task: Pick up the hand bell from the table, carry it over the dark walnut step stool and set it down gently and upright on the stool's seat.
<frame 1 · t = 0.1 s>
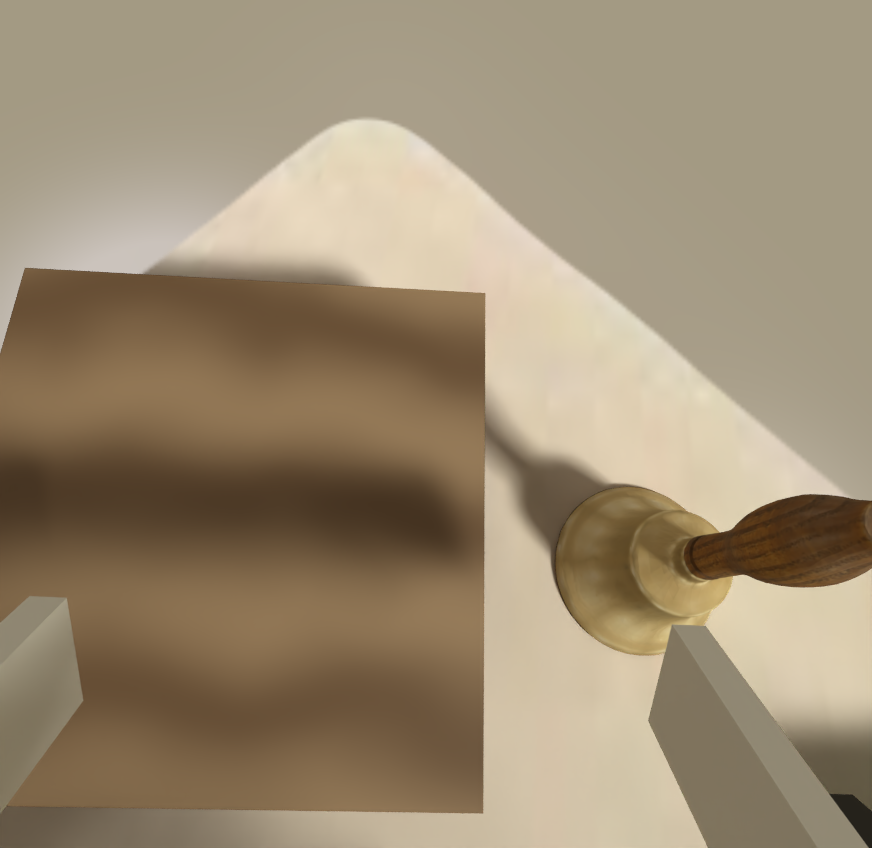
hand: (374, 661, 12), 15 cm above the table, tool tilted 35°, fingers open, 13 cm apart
walnut stool: (281, 535, 28), on the table
hand bell: (633, 568, 29), on the table
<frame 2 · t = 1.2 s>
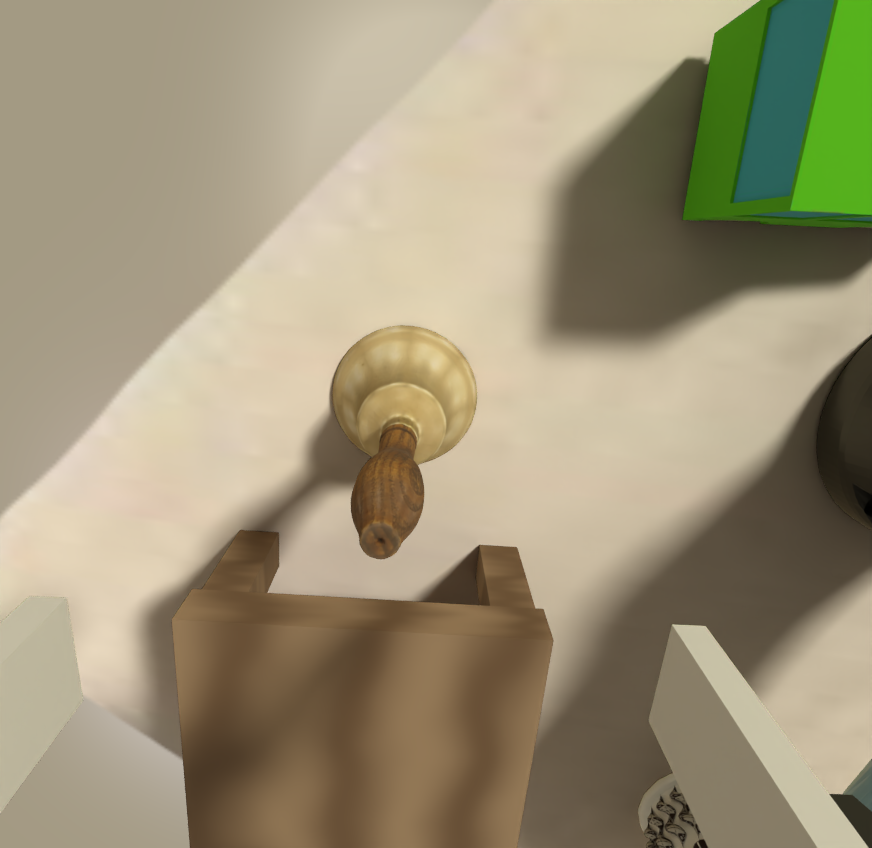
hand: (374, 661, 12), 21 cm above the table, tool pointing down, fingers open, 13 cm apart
walnut stool: (373, 652, 38), on the table
decorative candle: (690, 805, 43), on the table
toy car: (812, 143, 28), on the table
hand bell: (405, 396, 32), on the table
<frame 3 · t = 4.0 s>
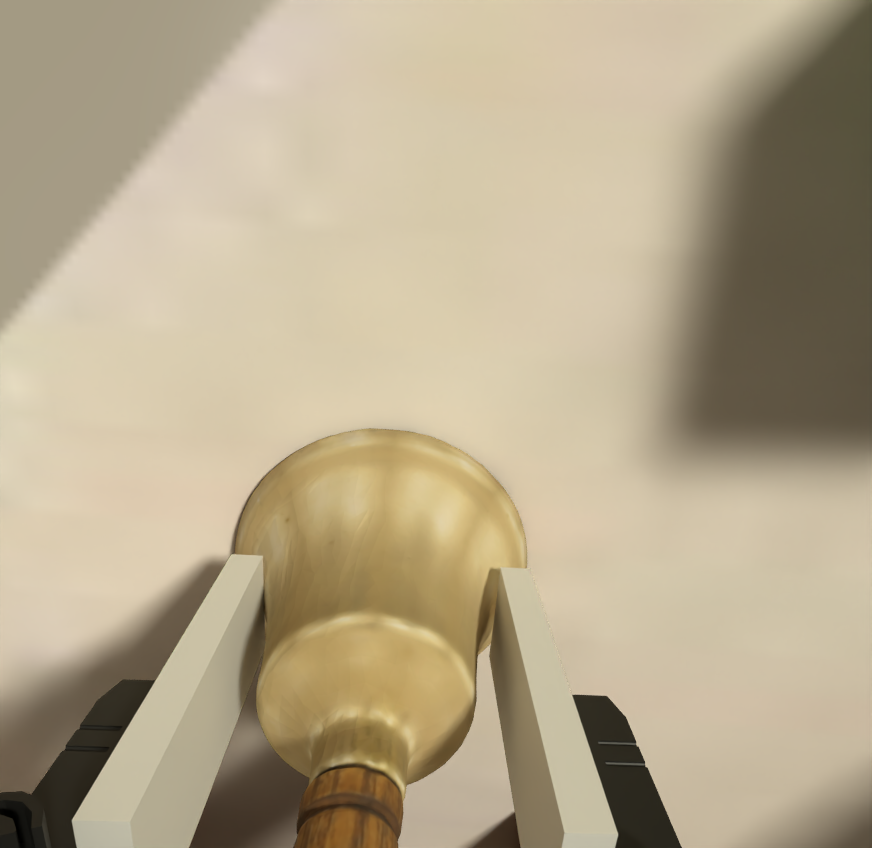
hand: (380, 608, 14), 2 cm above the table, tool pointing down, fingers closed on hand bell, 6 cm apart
hand bell: (383, 558, 16), on the table, touching gripper
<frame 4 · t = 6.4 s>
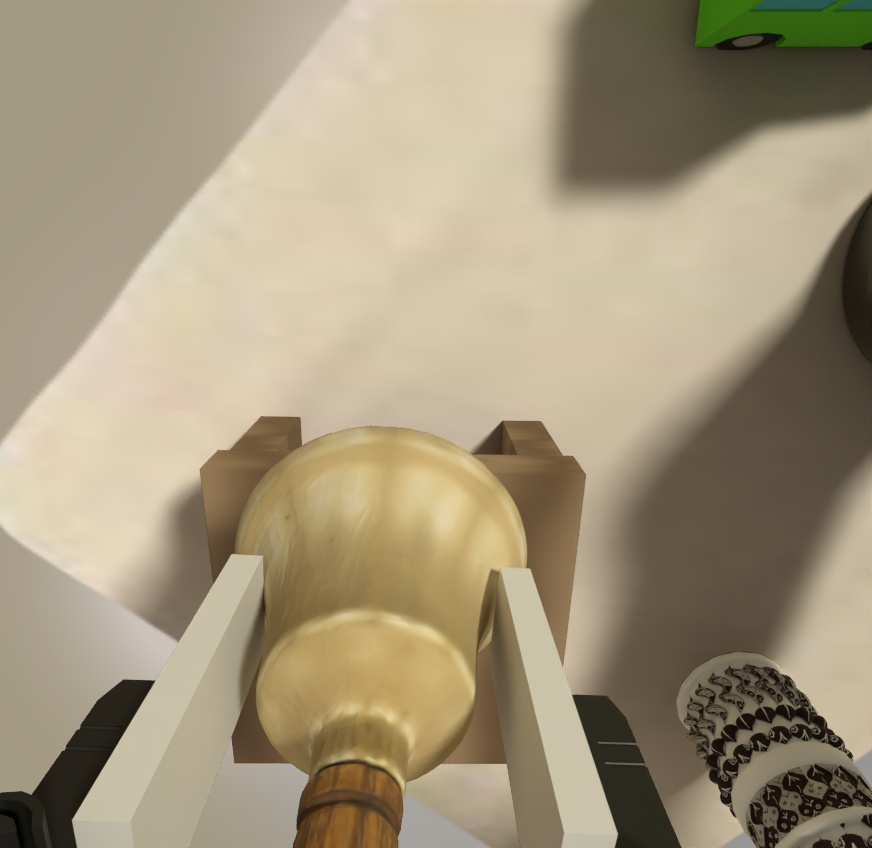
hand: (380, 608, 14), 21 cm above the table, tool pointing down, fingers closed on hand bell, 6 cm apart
walnut stool: (401, 542, 37), on the table
decorative candle: (729, 695, 42), on the table
hand bell: (383, 556, 16), point 19 cm above the table, touching gripper
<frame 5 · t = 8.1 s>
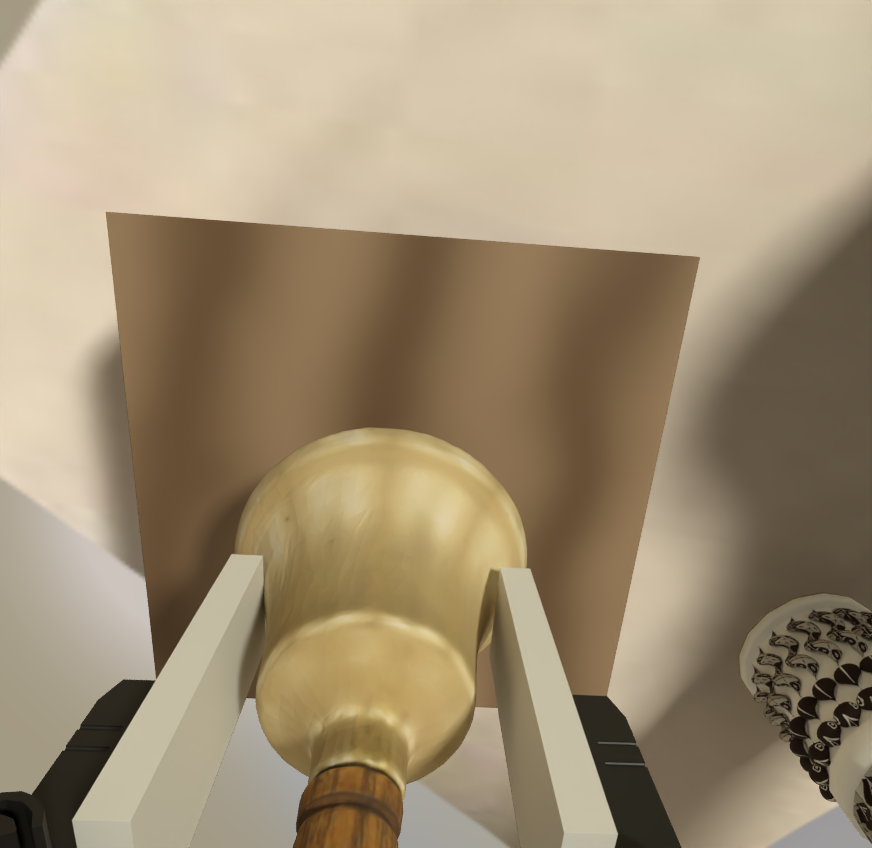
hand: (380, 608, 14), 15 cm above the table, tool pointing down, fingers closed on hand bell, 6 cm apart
walnut stool: (403, 422, 28), on the table
decorative candle: (805, 650, 34), on the table
hand bell: (383, 557, 16), point 13 cm above the table, touching gripper
when the fingers open (13 cm above the table, at t = 9.2 s): hand bell drops 2 cm, resting on walnut stool.
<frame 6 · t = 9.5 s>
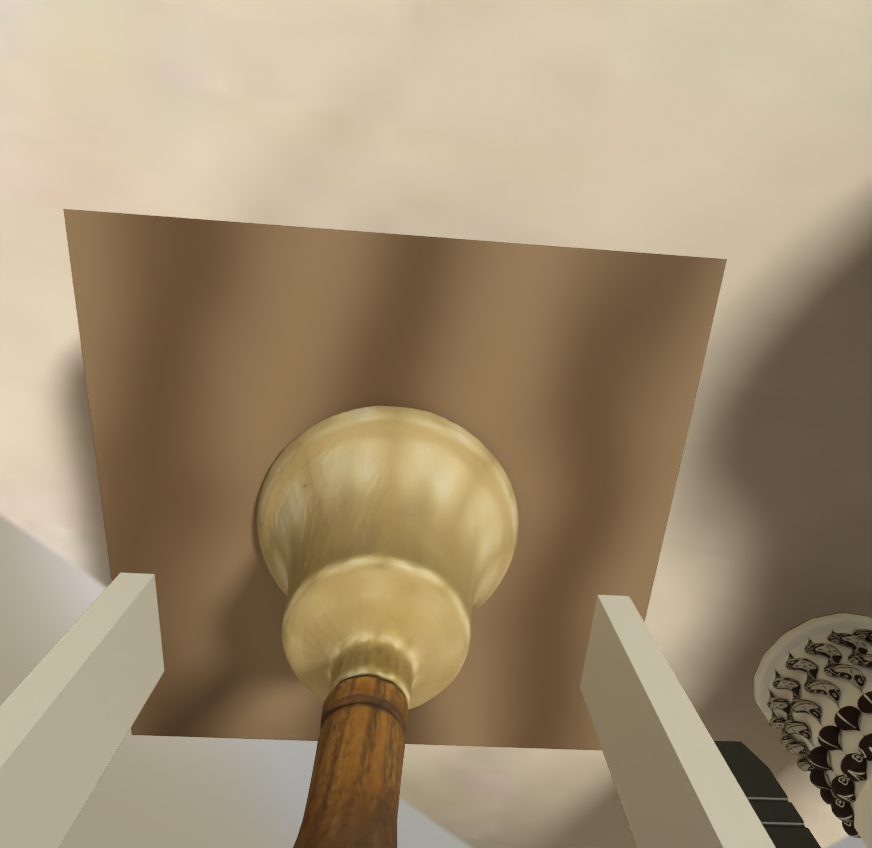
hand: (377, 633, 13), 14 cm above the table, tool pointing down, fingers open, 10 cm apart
walnut stool: (399, 435, 26), on the table
decorative candle: (823, 672, 32), on the table
hand bell: (389, 524, 18), point 9 cm above the table, touching walnut stool
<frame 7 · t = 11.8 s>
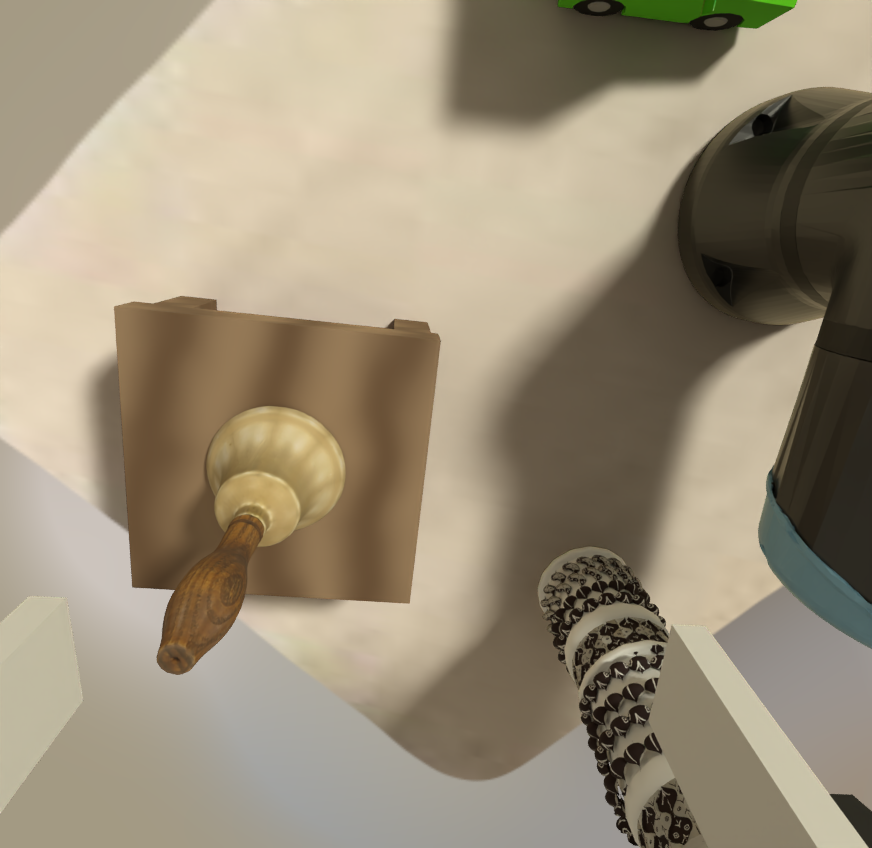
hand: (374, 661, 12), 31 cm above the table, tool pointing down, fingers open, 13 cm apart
walnut stool: (302, 424, 42), on the table
decorative candle: (583, 586, 49), on the table
hand bell: (278, 468, 34), point 9 cm above the table, touching walnut stool
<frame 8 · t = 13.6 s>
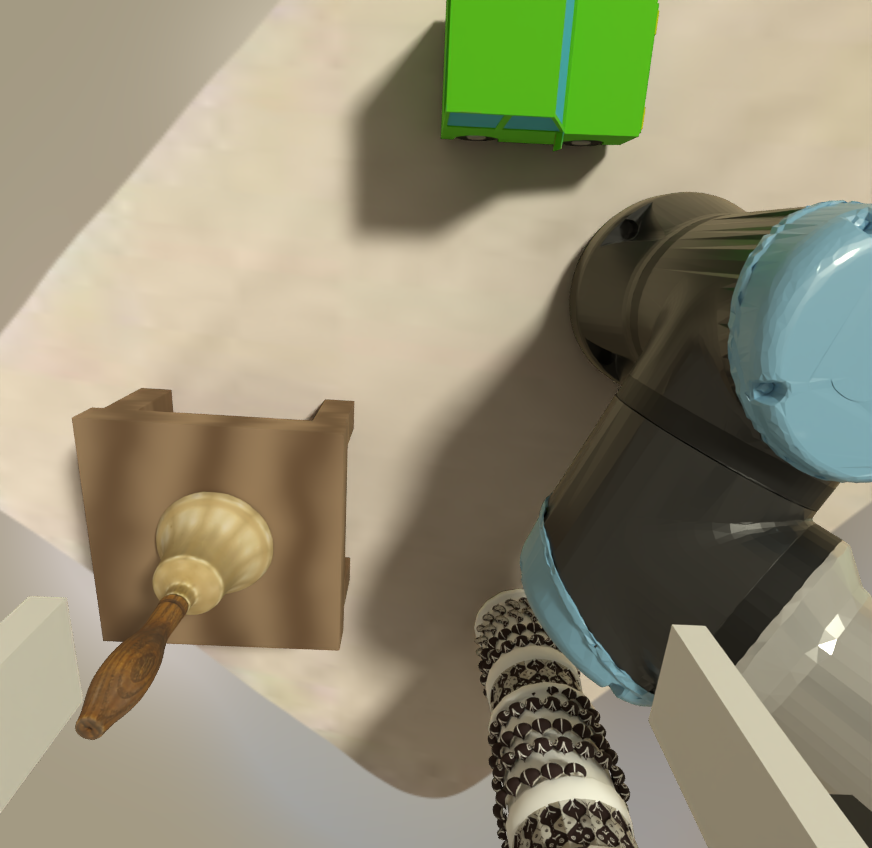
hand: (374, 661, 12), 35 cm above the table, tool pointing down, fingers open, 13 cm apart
walnut stool: (252, 490, 49), on the table
decorative candle: (516, 624, 54), on the table
toy car: (535, 83, 40), on the table
hand bell: (217, 541, 40), point 9 cm above the table, touching walnut stool
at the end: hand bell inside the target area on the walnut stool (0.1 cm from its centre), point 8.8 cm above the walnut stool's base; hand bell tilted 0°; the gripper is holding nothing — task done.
